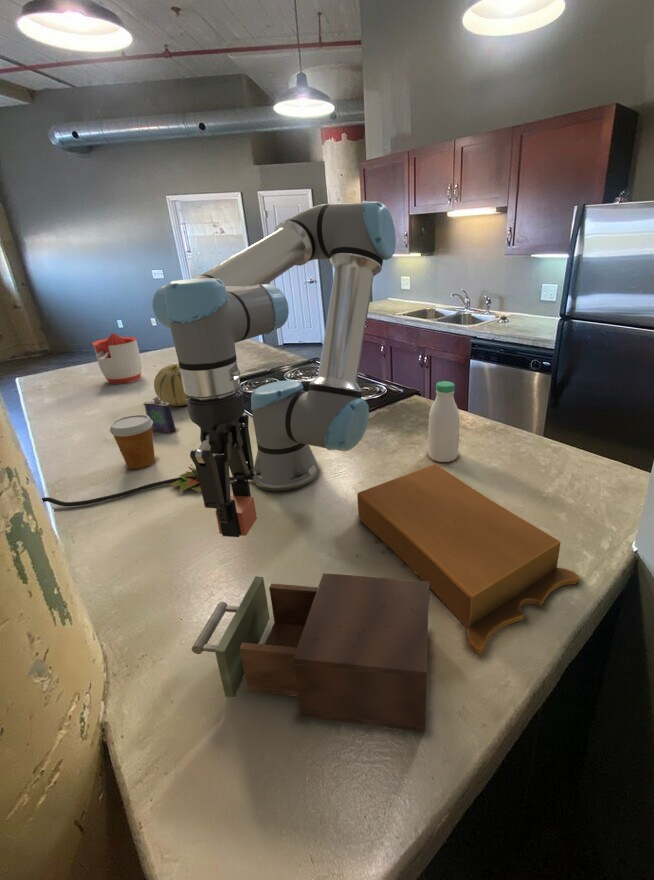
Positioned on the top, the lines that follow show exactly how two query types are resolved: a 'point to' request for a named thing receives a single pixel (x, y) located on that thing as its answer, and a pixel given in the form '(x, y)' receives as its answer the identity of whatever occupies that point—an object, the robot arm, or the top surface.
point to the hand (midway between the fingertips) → (238, 524)
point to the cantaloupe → (170, 385)
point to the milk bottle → (443, 424)
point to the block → (243, 513)
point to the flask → (160, 415)
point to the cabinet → (365, 652)
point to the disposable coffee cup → (134, 440)
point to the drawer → (240, 642)
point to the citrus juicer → (118, 358)
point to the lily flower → (188, 481)
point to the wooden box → (465, 548)
